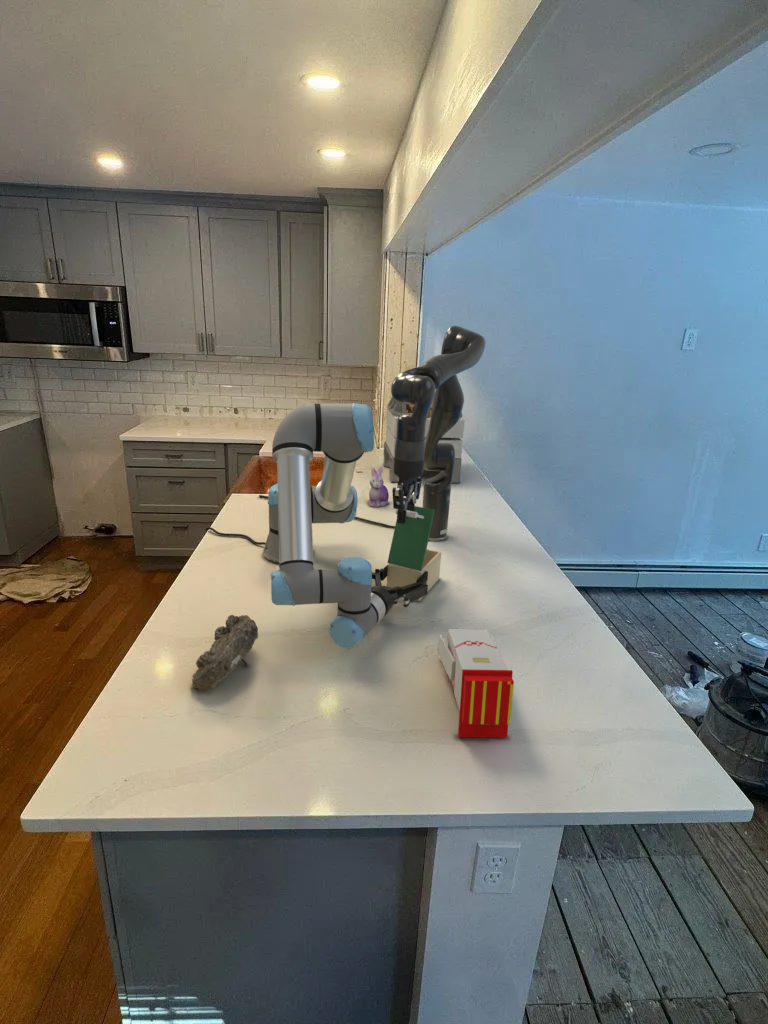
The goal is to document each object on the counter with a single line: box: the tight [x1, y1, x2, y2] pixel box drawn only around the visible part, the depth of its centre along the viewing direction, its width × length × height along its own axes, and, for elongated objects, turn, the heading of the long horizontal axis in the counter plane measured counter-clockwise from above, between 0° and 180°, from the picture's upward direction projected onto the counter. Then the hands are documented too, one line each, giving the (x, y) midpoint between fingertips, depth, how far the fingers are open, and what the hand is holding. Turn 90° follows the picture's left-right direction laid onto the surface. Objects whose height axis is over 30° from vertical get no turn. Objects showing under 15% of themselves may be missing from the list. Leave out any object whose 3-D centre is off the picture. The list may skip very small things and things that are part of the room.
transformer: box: [383, 395, 465, 484], centre depth 268 cm, size 34×33×41 cm
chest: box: [386, 548, 442, 602], centre depth 162 cm, size 16×10×9 cm, turn 155°
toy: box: [437, 628, 515, 738], centre depth 117 cm, size 12×13×30 cm
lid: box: [387, 505, 435, 571], centre depth 150 cm, size 17×10×8 cm
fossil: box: [191, 614, 259, 691], centre depth 123 cm, size 22×10×15 cm
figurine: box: [367, 466, 390, 507], centre depth 227 cm, size 9×10×15 cm
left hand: (408, 571), depth 157 cm, fingers closed on chest, 10 cm apart
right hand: (405, 519), depth 148 cm, fingers open, 5 cm apart
